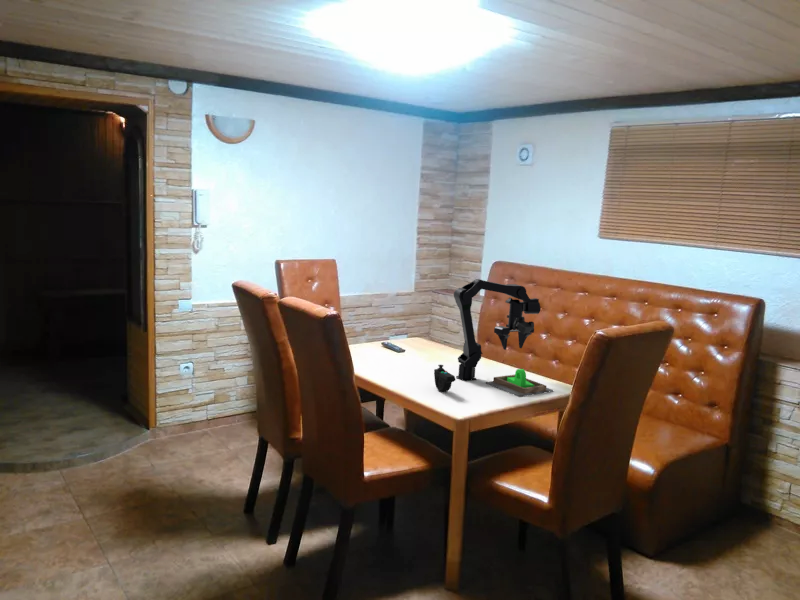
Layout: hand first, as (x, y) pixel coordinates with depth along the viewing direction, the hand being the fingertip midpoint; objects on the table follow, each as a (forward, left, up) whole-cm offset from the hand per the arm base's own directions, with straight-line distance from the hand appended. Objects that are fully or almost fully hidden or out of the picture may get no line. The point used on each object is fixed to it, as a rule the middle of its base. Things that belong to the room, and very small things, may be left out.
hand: (512, 348), depth 270 cm
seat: (-7, -13, -13) cm, 20 cm away
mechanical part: (-6, -13, -13) cm, 19 cm away
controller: (-41, -6, -13) cm, 44 cm away
